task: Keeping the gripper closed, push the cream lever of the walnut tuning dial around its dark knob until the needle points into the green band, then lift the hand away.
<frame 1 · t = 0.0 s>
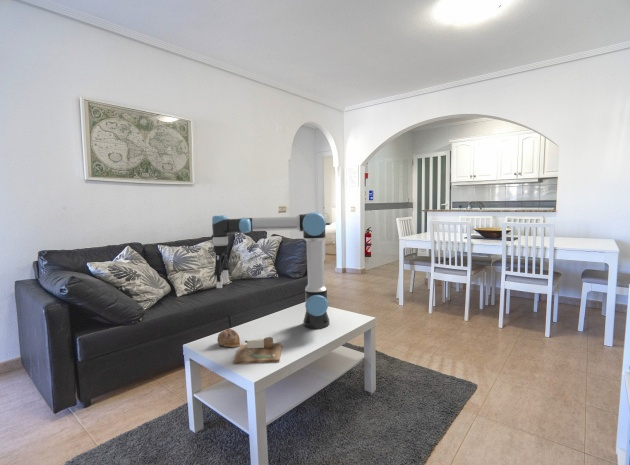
hand: (222, 284, 174), 28 cm above the table, fingers open, 13 cm apart
dial board: (259, 354, 153), on the table
seashell: (228, 345, 165), on the table
lever: (259, 343, 157), point 3 cm above the table, hinge at 0.0°
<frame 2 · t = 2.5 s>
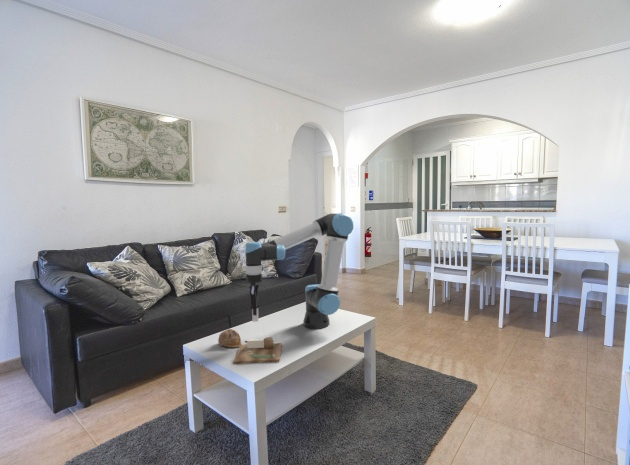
hand: (255, 320, 163), 12 cm above the table, fingers closed
nothing on the table moved.
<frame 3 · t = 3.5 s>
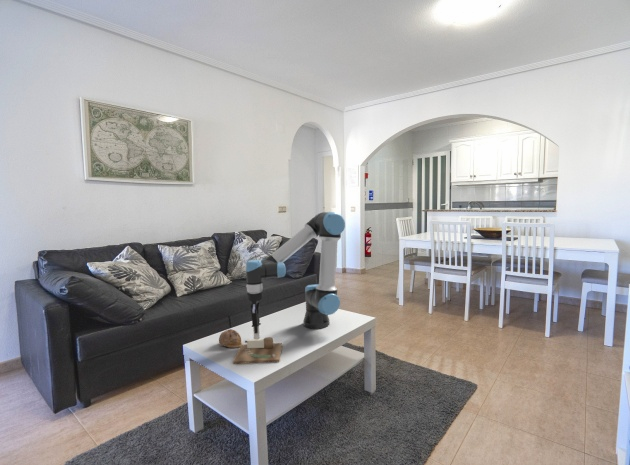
hand: (256, 338, 163), 3 cm above the table, fingers closed
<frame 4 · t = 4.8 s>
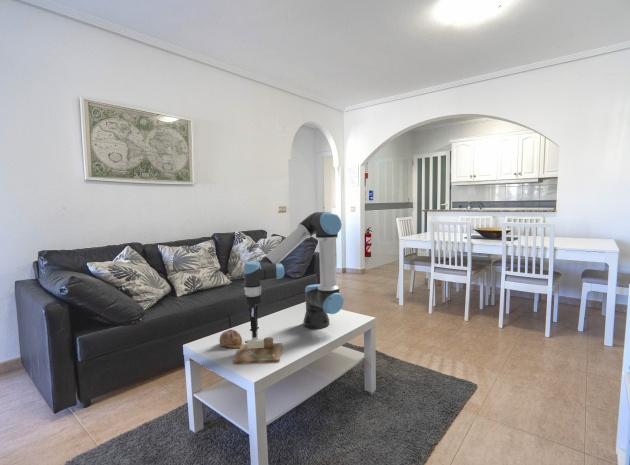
hand: (255, 343, 158), 3 cm above the table, fingers closed
lever: (259, 343, 156), point 3 cm above the table, hinge at 3.3°, touching gripper
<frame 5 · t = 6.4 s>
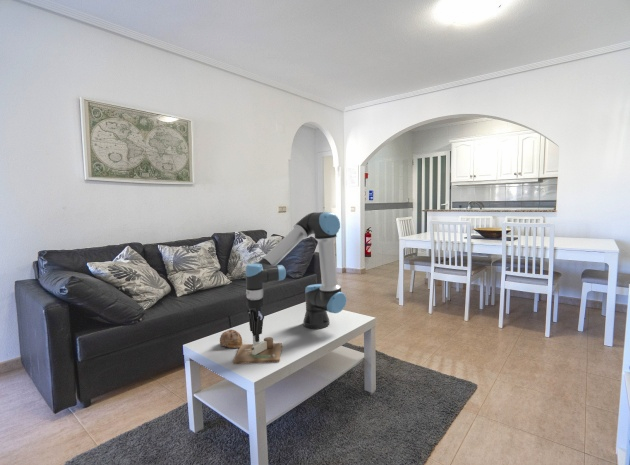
hand: (256, 347, 153), 3 cm above the table, fingers closed
lever: (262, 346, 153), point 3 cm above the table, hinge at 54.4°, touching gripper
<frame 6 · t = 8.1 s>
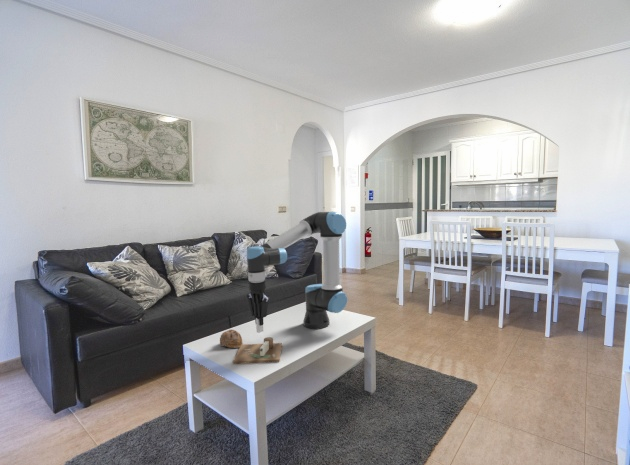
hand: (260, 331, 151), 11 cm above the table, fingers closed
lever: (265, 346, 152), point 3 cm above the table, hinge at 79.0°
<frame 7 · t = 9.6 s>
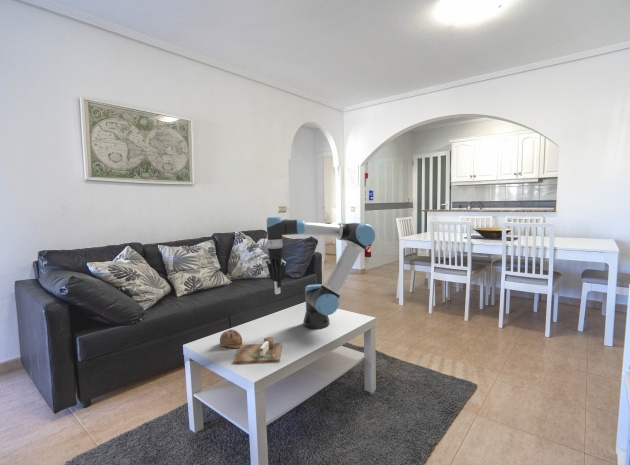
hand: (277, 293, 168), 24 cm above the table, fingers closed
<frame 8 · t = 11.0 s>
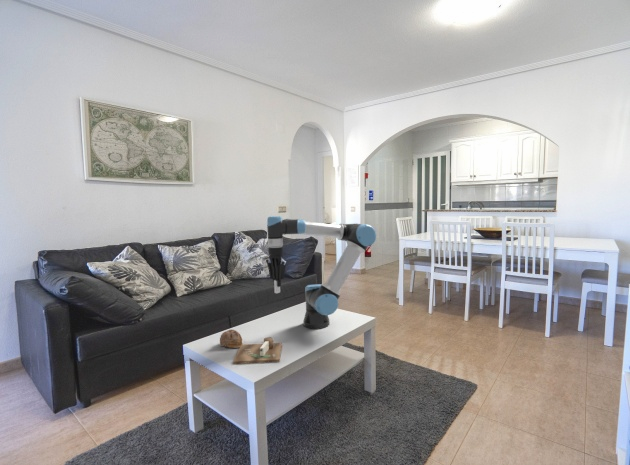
hand: (277, 292, 169), 24 cm above the table, fingers closed
at the end: lever at +79° (first picture: +0°); lever touching nothing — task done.
